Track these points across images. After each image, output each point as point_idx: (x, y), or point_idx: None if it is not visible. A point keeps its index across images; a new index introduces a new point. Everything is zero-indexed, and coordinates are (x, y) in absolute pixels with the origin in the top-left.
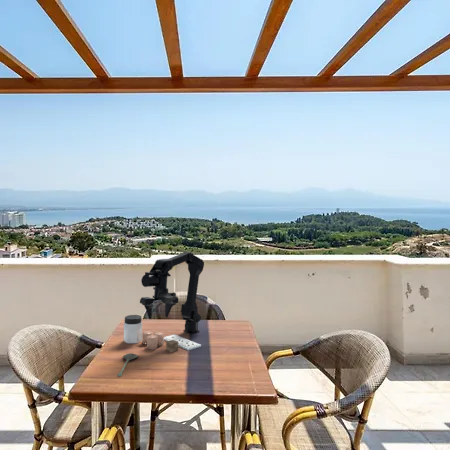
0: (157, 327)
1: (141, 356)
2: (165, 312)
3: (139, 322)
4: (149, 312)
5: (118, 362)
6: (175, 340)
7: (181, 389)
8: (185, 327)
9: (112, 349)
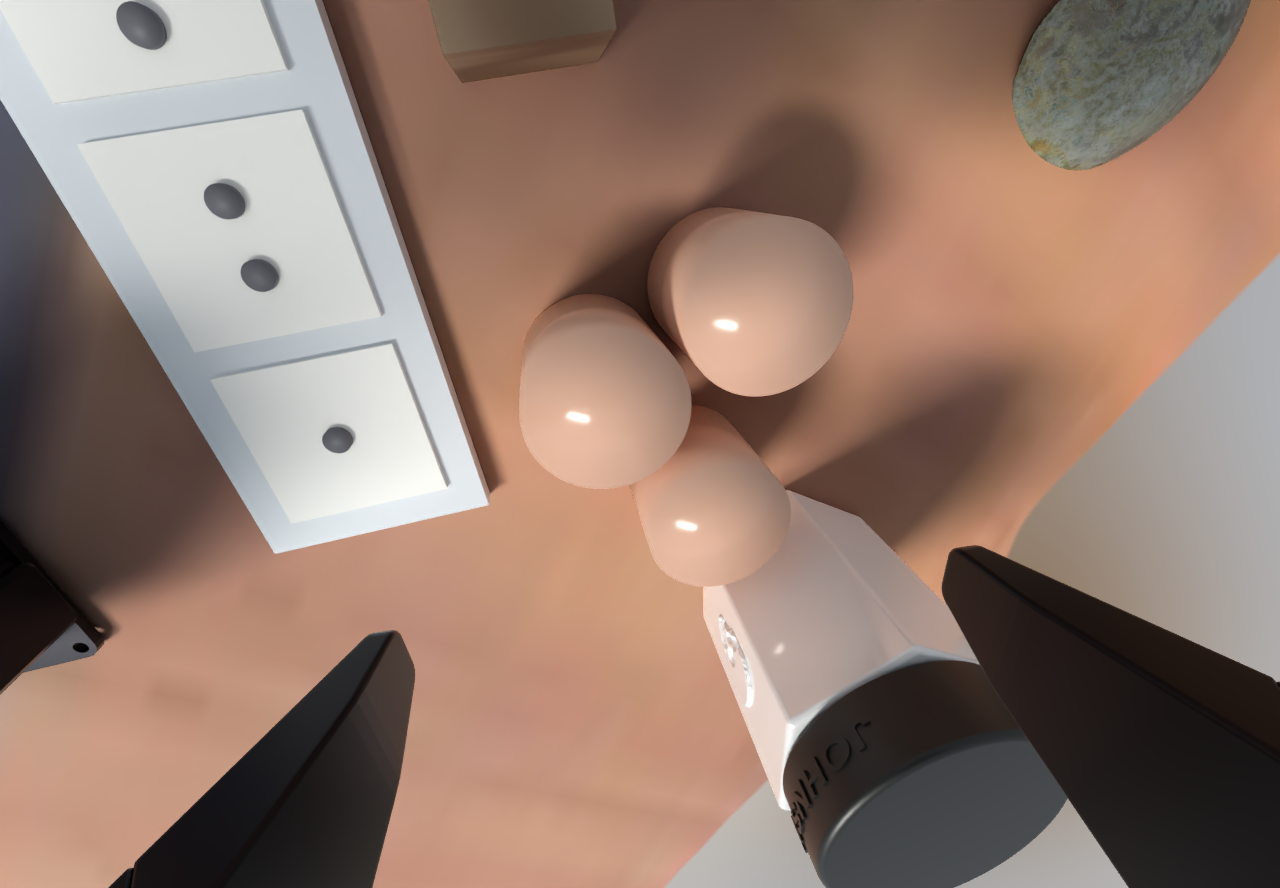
0: (403, 808)
1: (988, 27)
2: (378, 830)
3: (873, 690)
4: (1258, 698)
5: (1266, 6)
6: (337, 300)
7: None
8: (17, 648)
9: (1037, 433)
